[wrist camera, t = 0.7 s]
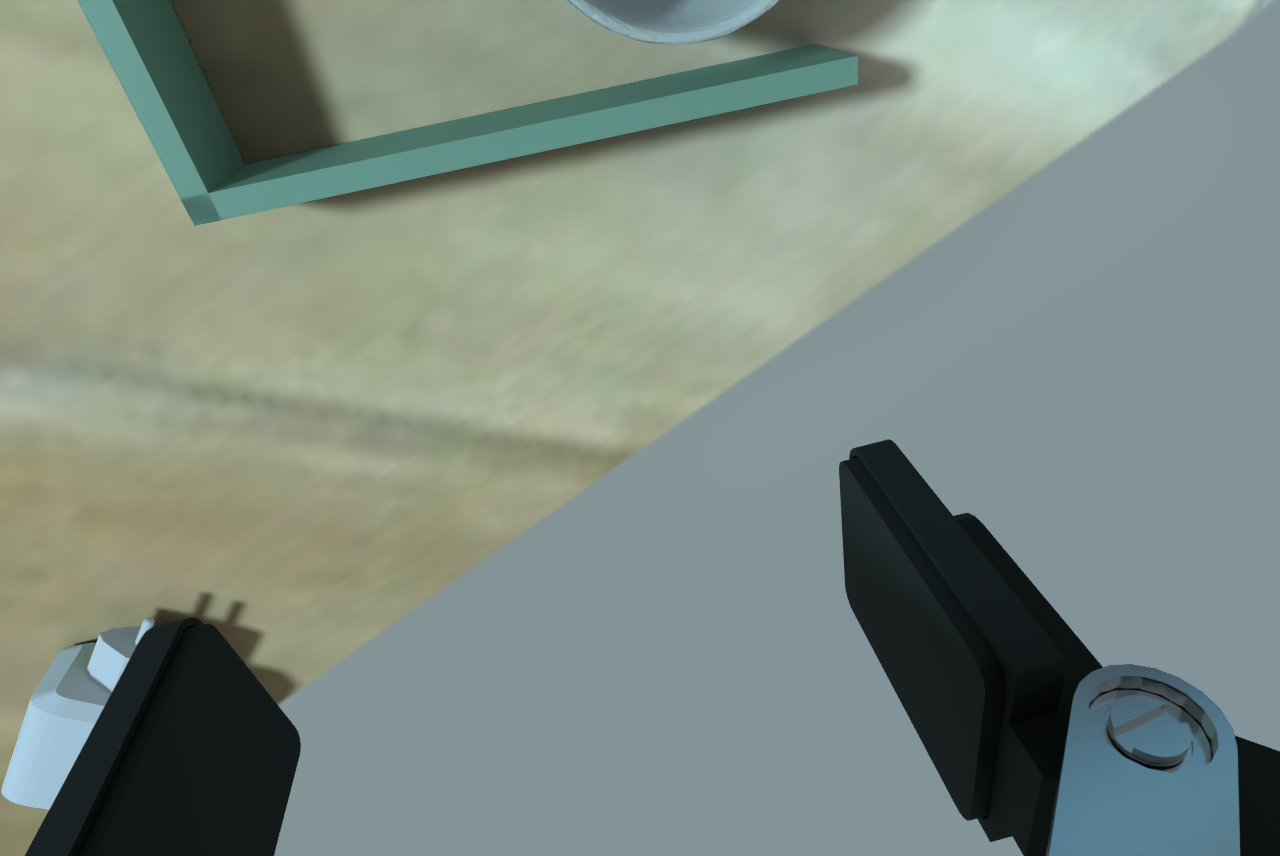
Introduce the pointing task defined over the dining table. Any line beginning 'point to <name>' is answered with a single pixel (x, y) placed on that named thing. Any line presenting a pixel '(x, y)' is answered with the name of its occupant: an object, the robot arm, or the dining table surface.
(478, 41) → the dining table surface
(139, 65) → the green u-shaped border
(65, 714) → the charger
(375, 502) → the dining table surface
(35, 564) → the dining table surface
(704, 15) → the teacup
